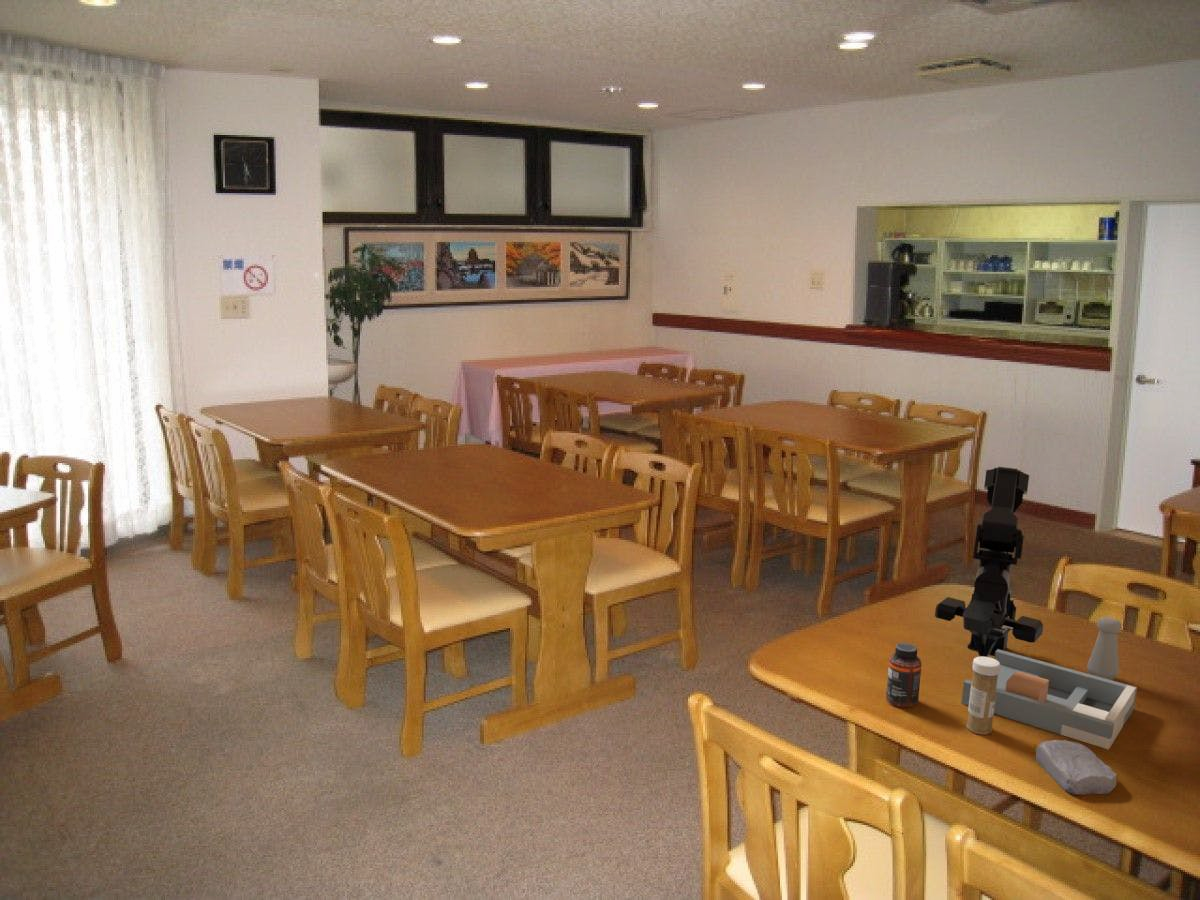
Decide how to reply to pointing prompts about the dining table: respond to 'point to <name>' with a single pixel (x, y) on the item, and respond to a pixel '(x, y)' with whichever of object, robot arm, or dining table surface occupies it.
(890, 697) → the supplement bottle
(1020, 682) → the terracotta block
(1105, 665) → the salt shaker
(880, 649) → the dining table surface
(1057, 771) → the stone block
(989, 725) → the sprinkles bottle
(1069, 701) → the box
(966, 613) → the robot arm
